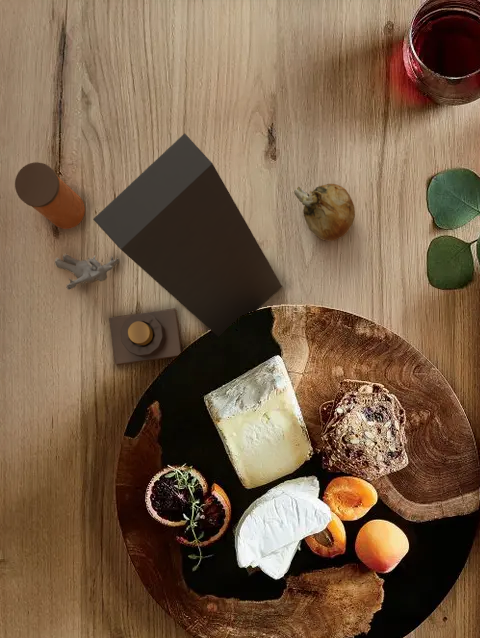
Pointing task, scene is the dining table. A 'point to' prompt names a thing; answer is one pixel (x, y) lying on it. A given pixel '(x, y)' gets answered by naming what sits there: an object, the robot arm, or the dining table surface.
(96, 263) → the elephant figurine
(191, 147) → the dark brown rectangular box
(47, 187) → the orange lidded canister
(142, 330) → the button
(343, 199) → the onion
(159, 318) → the control block
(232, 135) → the dining table surface
